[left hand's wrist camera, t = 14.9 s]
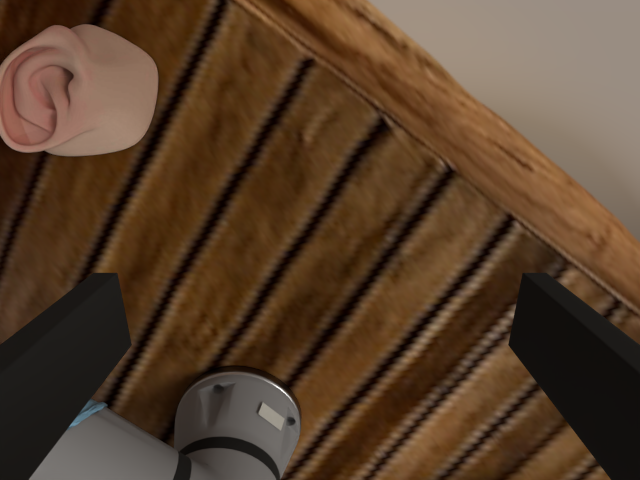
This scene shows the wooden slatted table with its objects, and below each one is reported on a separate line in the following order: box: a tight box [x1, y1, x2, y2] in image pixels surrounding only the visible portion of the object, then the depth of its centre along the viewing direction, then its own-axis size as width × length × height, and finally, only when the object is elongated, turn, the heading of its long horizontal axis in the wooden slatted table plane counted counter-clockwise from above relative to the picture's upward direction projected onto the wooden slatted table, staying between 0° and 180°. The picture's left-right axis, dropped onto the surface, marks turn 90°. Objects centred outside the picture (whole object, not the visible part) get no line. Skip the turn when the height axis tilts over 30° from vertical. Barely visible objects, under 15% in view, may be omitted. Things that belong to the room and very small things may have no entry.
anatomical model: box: [0, 24, 158, 156], centre depth 34 cm, size 13×4×12 cm
